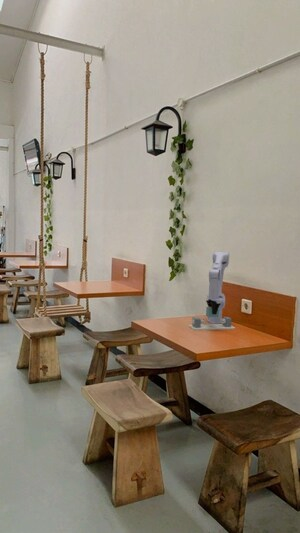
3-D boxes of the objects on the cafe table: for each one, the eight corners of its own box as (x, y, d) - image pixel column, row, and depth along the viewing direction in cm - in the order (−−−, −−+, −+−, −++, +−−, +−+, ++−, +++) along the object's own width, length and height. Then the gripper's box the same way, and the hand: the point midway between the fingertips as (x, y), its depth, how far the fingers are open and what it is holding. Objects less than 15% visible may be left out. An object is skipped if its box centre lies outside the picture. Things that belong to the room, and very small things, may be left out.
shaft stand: (188, 326, 241) (189, 316, 241) (228, 325, 247) (228, 316, 247) (194, 330, 232) (194, 320, 232) (234, 329, 239) (235, 319, 238)
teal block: (215, 315, 242) (216, 306, 241) (218, 316, 238) (219, 307, 237) (206, 315, 240) (206, 306, 239) (208, 317, 236) (209, 307, 236)
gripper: (202, 288, 243) (201, 310, 245) (212, 292, 229) (211, 316, 231) (213, 288, 245) (212, 310, 247) (224, 292, 231) (223, 316, 233)
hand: (212, 313), depth 239 cm, fingers closed on teal block, 4 cm apart
